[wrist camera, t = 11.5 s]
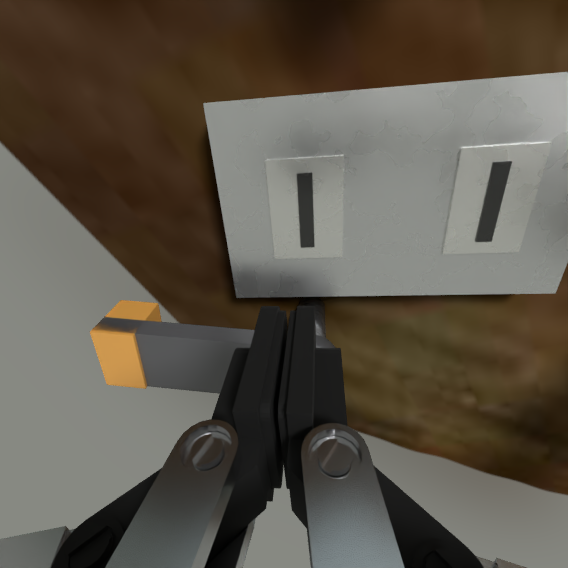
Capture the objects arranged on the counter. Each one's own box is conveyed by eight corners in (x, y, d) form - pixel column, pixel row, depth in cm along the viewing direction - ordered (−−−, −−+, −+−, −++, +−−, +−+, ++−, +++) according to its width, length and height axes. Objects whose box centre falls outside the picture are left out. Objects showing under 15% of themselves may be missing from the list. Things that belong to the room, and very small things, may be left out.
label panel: (601, 69, 20) (649, 64, 17) (532, 274, 27) (558, 295, 24) (216, 102, 23) (201, 103, 20) (243, 280, 29) (235, 299, 27)
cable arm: (339, 318, 25) (343, 360, 21) (332, 368, 27) (334, 413, 23) (120, 300, 26) (85, 336, 22) (133, 349, 28) (103, 389, 24)
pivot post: (324, 295, 29) (326, 340, 24) (325, 317, 31) (326, 364, 25) (298, 296, 30) (293, 340, 24) (299, 317, 31) (295, 364, 26)
